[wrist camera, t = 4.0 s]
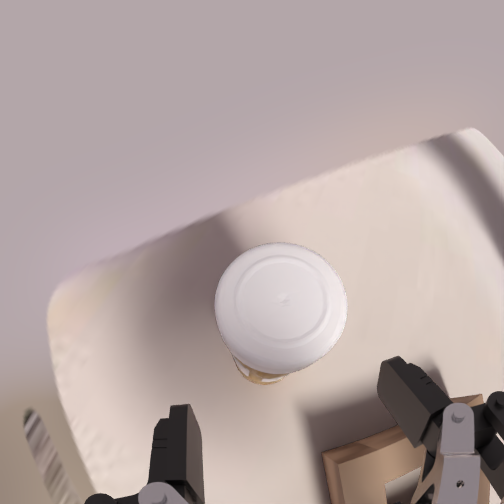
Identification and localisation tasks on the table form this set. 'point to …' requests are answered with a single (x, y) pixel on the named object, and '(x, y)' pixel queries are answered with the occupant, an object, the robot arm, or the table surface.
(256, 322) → the sprinkles bottle
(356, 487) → the walnut bottle stand
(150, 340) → the table surface
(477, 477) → the robot arm
